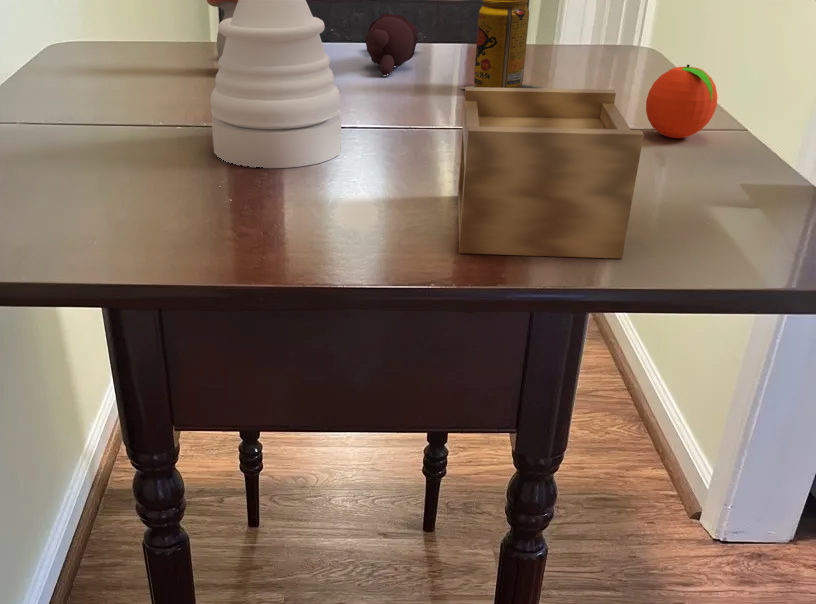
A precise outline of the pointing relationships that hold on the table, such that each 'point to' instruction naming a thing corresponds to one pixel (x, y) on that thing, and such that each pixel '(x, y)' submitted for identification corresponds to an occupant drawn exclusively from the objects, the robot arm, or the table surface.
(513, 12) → the yellow drink can
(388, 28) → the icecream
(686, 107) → the clementine
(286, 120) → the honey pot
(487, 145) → the wooden box
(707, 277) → the table surface
